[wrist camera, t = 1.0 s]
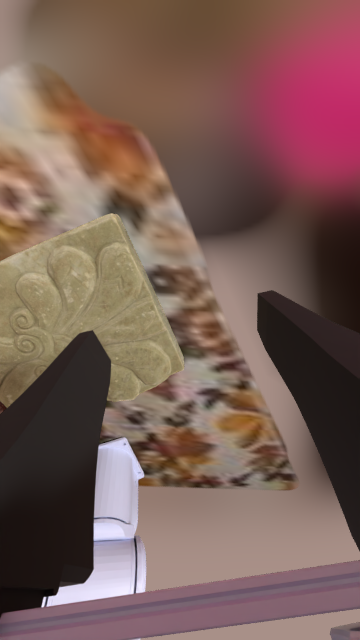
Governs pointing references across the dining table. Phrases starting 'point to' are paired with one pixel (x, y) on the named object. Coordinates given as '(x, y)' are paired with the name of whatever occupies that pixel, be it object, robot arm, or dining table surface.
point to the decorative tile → (83, 310)
